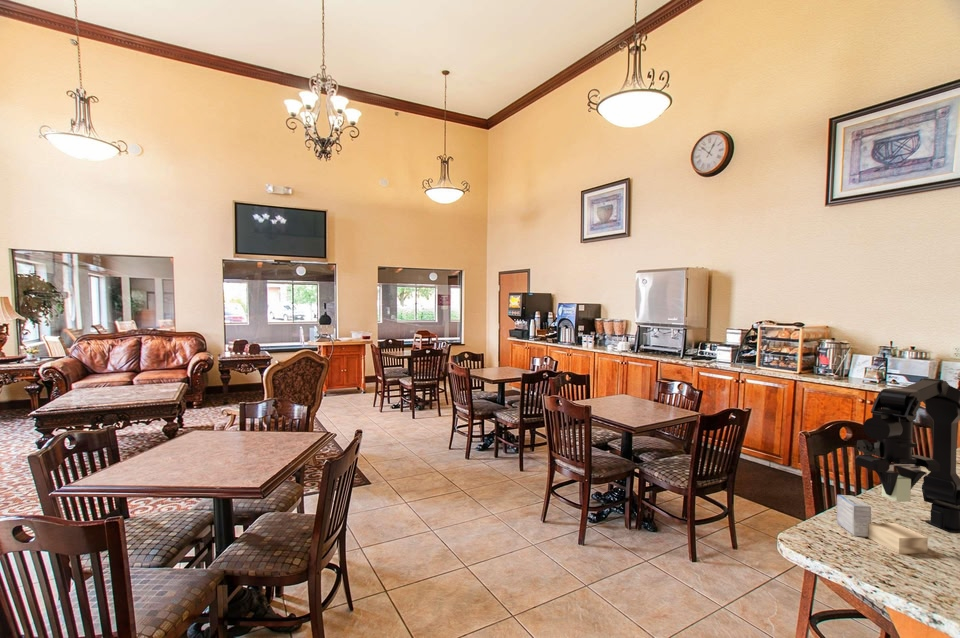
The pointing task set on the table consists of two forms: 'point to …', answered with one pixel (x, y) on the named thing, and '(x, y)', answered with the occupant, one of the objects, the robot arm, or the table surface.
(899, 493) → the sage block
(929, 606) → the table surface
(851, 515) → the medicine box
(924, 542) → the beech slab
